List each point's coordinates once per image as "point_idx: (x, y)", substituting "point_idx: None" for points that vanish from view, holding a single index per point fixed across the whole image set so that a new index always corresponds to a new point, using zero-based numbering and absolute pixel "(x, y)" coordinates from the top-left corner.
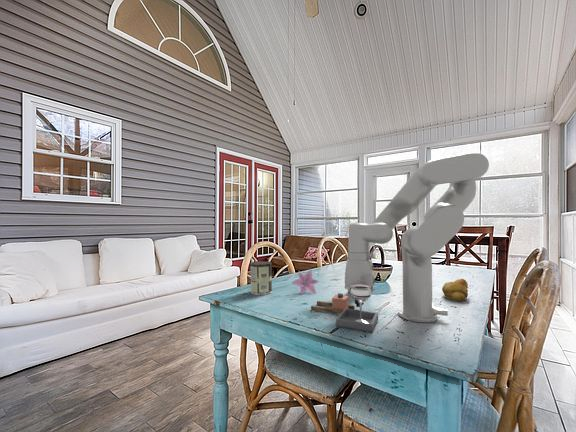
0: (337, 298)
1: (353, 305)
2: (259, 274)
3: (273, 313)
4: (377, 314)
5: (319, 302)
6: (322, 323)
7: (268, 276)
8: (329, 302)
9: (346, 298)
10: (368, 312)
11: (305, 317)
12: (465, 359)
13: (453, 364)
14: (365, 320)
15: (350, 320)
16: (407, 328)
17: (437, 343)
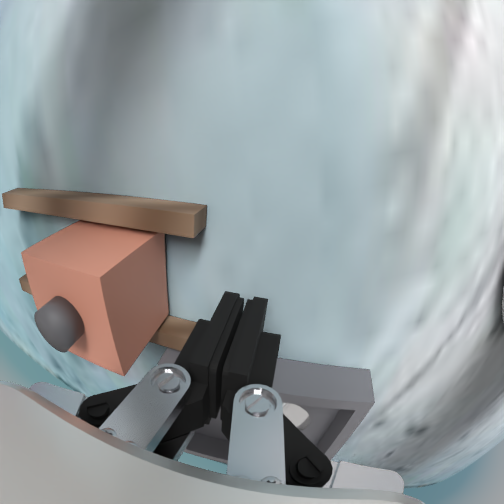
0: (72, 349)
1: (185, 218)
2: None
3: (5, 322)
4: (364, 415)
5: (13, 207)
6: None
7: None
8: (39, 200)
9: (115, 345)
10: (315, 406)
11: (66, 356)
12: (466, 463)
13: (435, 478)
14: (295, 417)
15: None
16: (456, 403)
17: (468, 442)
